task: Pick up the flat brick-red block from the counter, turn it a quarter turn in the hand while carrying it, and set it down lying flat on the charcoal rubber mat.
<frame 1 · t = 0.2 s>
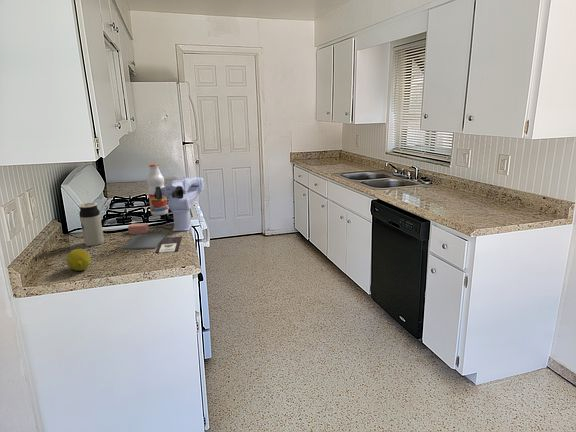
hand: (164, 195, 171), 21 cm above the countertop, tool horizontal, fingers open, 7 cm apart
travel mug: (94, 243, 178), on the countertop
fruit juice: (159, 213, 223), on the countertop
block: (139, 232, 191), on the countertop
lemon: (80, 269, 150), on the countertop
chocolate bar: (169, 246, 173), on the countertop
mat: (145, 241, 178), on the countertop
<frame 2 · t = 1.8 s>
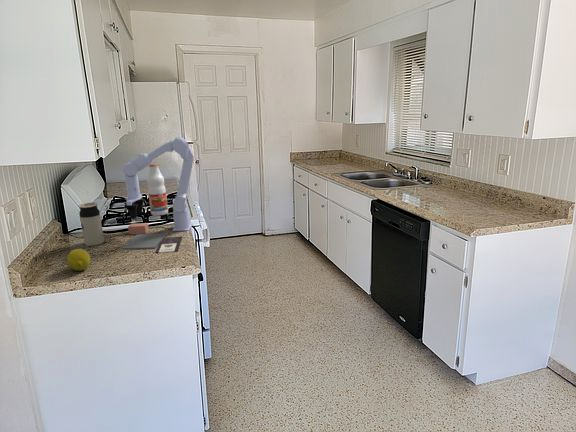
hand: (136, 216, 189), 8 cm above the countertop, tool pointing down, fingers open, 7 cm apart
nothing on the countertop moved.
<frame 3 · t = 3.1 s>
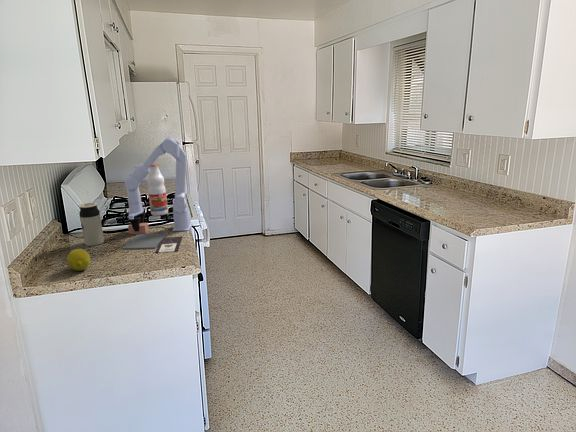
hand: (138, 229, 191), 1 cm above the countertop, tool pointing down, fingers closed on block, 4 cm apart
block: (139, 232, 191), on the countertop, touching gripper
everything else where it was.
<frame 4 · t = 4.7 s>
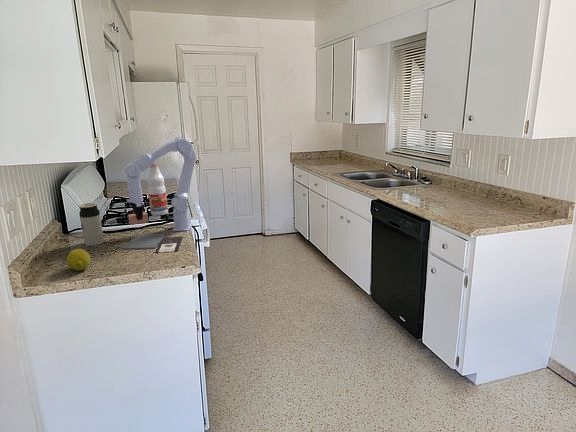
hand: (138, 218, 184), 8 cm above the countertop, tool pointing down, fingers closed on block, 4 cm apart
block: (138, 222, 185), point 6 cm above the countertop, touching gripper
everything else where it was.
when the fingers open (4 cm above the countertop, at t = 6.7 s): block stays where it is, resting on mat.
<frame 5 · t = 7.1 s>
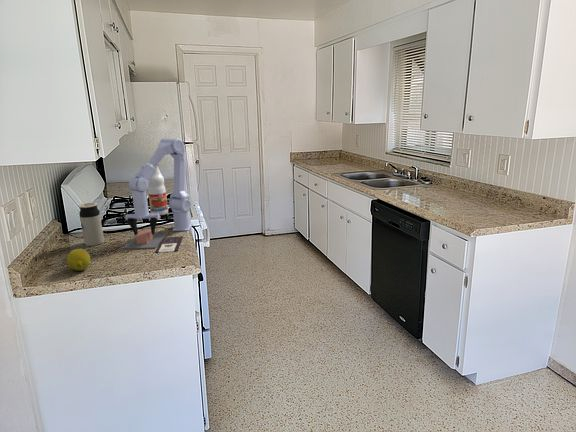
hand: (144, 234, 177), 4 cm above the countertop, tool pointing down, fingers open, 7 cm apart
block: (145, 240, 177), point 1 cm above the countertop, touching mat
everything else where it was.
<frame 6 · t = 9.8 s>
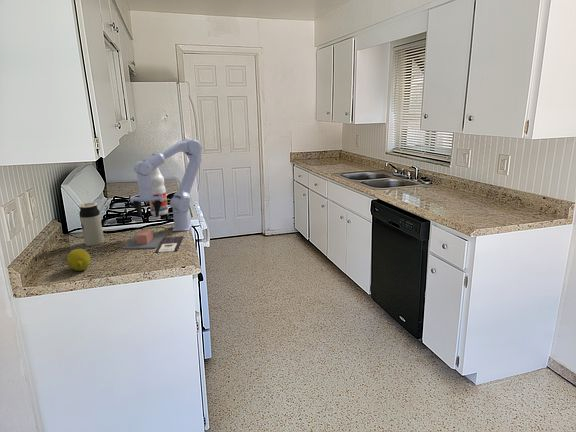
hand: (149, 216, 183), 9 cm above the countertop, tool pointing down, fingers open, 7 cm apart
nothing on the countertop moved.
at the end: block inside the target area on the mat (0.5 cm from its centre), point 0.6 cm above the mat's base; block tilted 0°; the gripper is holding nothing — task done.
